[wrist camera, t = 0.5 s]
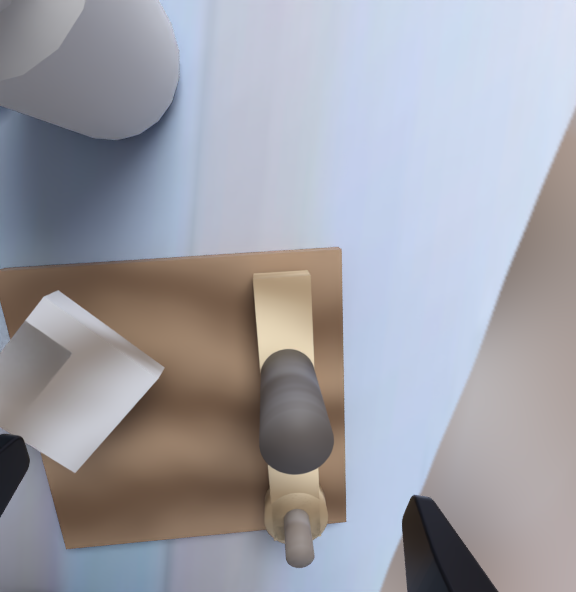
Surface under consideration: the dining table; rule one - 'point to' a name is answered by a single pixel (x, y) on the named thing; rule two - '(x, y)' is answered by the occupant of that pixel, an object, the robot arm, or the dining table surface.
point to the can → (88, 64)
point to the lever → (291, 413)
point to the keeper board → (158, 390)
